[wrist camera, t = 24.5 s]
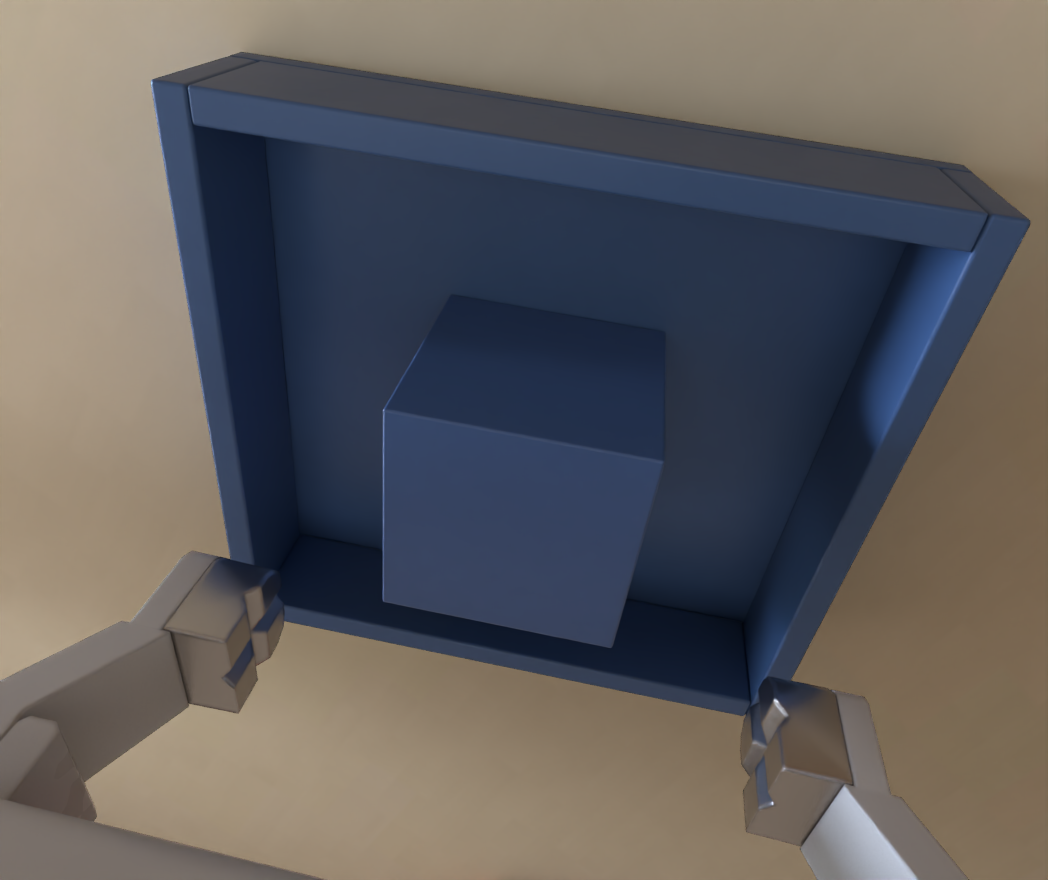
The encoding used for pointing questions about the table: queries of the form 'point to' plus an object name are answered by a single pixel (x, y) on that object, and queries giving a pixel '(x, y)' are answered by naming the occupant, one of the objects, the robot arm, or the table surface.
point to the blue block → (523, 468)
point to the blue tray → (582, 291)
